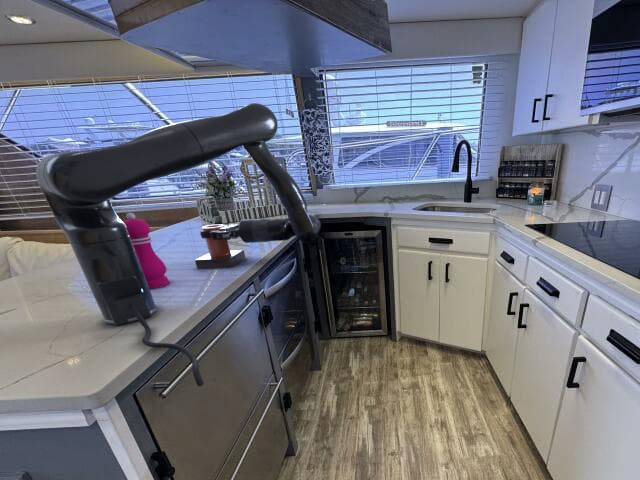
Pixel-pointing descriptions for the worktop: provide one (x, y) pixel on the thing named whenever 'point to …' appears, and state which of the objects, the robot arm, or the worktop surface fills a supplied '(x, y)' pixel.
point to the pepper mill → (146, 252)
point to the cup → (216, 243)
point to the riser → (220, 260)
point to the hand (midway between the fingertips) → (207, 232)
